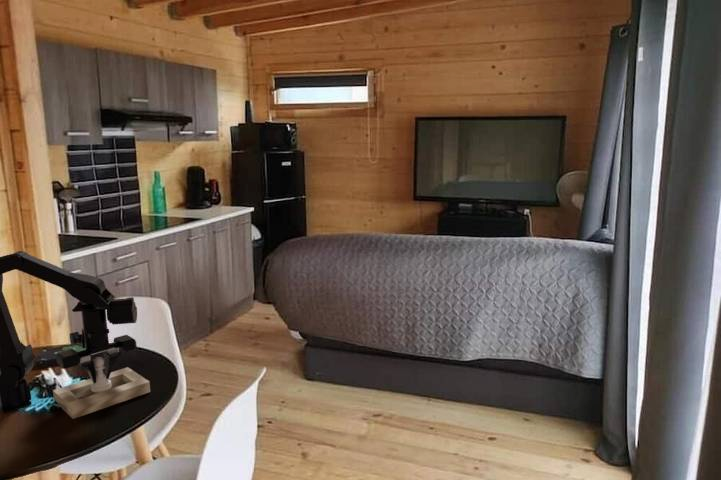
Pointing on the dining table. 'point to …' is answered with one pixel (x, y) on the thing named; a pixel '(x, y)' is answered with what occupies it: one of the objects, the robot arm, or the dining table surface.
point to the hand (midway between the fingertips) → (100, 380)
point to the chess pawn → (100, 377)
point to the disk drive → (53, 355)
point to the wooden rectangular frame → (92, 403)
